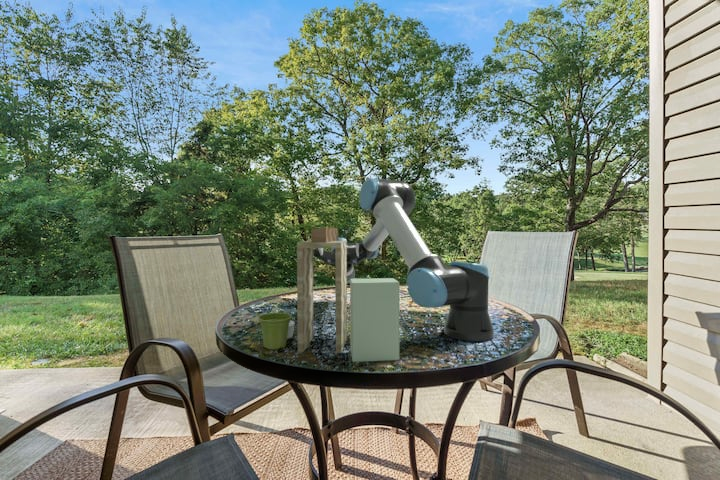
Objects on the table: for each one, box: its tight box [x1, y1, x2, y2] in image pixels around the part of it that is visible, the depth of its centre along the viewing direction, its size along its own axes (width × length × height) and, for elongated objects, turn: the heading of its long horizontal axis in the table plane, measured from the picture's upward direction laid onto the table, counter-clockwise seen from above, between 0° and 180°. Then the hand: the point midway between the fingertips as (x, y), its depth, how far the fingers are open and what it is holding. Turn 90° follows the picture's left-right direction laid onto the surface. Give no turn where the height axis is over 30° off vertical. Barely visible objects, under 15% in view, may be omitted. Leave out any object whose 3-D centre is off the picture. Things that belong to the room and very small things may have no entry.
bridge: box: [296, 240, 348, 354], centre depth 103 cm, size 14×12×30 cm
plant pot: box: [257, 312, 293, 350], centre depth 102 cm, size 9×9×9 cm
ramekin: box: [287, 319, 295, 340], centre depth 112 cm, size 9×9×4 cm
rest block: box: [349, 277, 400, 363], centre depth 94 cm, size 12×8×20 cm, turn 96°
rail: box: [310, 227, 339, 242], centre depth 108 cm, size 24×4×4 cm, turn 176°
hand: (338, 246), depth 127 cm, fingers open, 13 cm apart
